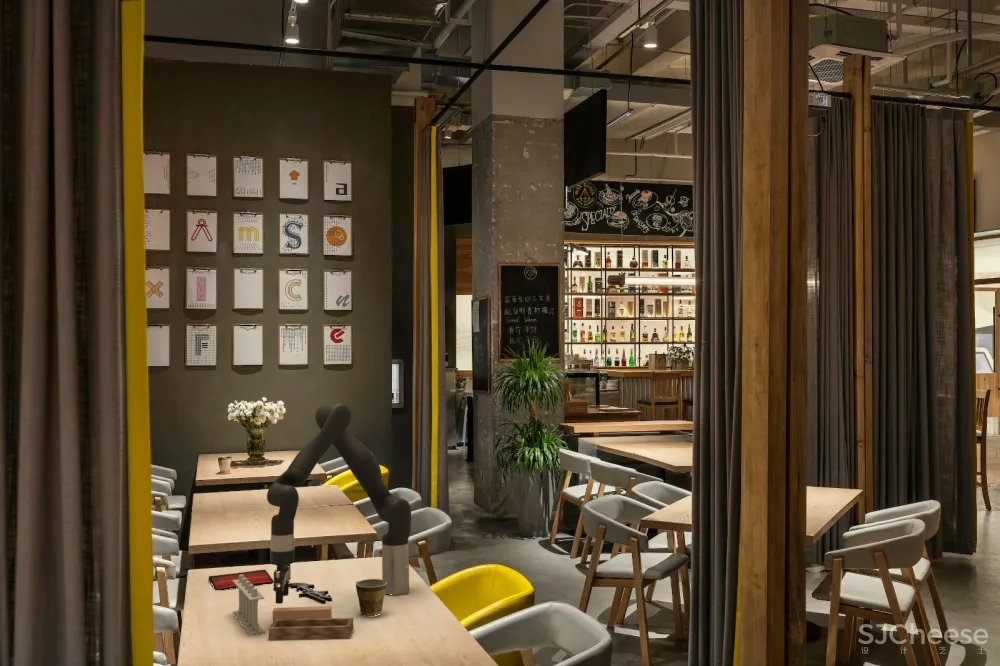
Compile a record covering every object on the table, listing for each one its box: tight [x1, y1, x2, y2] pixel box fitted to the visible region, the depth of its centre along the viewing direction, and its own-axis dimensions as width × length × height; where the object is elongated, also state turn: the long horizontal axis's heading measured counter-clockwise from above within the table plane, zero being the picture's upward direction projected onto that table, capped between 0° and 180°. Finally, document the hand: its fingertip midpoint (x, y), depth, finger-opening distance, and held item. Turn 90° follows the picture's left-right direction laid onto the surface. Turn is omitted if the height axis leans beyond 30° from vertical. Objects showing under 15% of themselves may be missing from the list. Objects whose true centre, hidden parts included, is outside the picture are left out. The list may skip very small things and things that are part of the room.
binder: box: [208, 569, 274, 591], centre depth 326 cm, size 16×2×21 cm
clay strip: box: [271, 605, 333, 622], centre depth 280 cm, size 18×4×4 cm, turn 96°
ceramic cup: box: [355, 578, 387, 617], centre depth 288 cm, size 13×10×10 cm
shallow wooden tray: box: [268, 617, 354, 641], centre depth 268 cm, size 24×9×3 cm, turn 92°
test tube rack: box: [232, 575, 266, 636], centre depth 279 cm, size 25×4×13 cm, turn 29°
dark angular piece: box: [288, 582, 333, 605], centre depth 310 cm, size 28×2×10 cm
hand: (282, 599), depth 279 cm, fingers open, 8 cm apart
